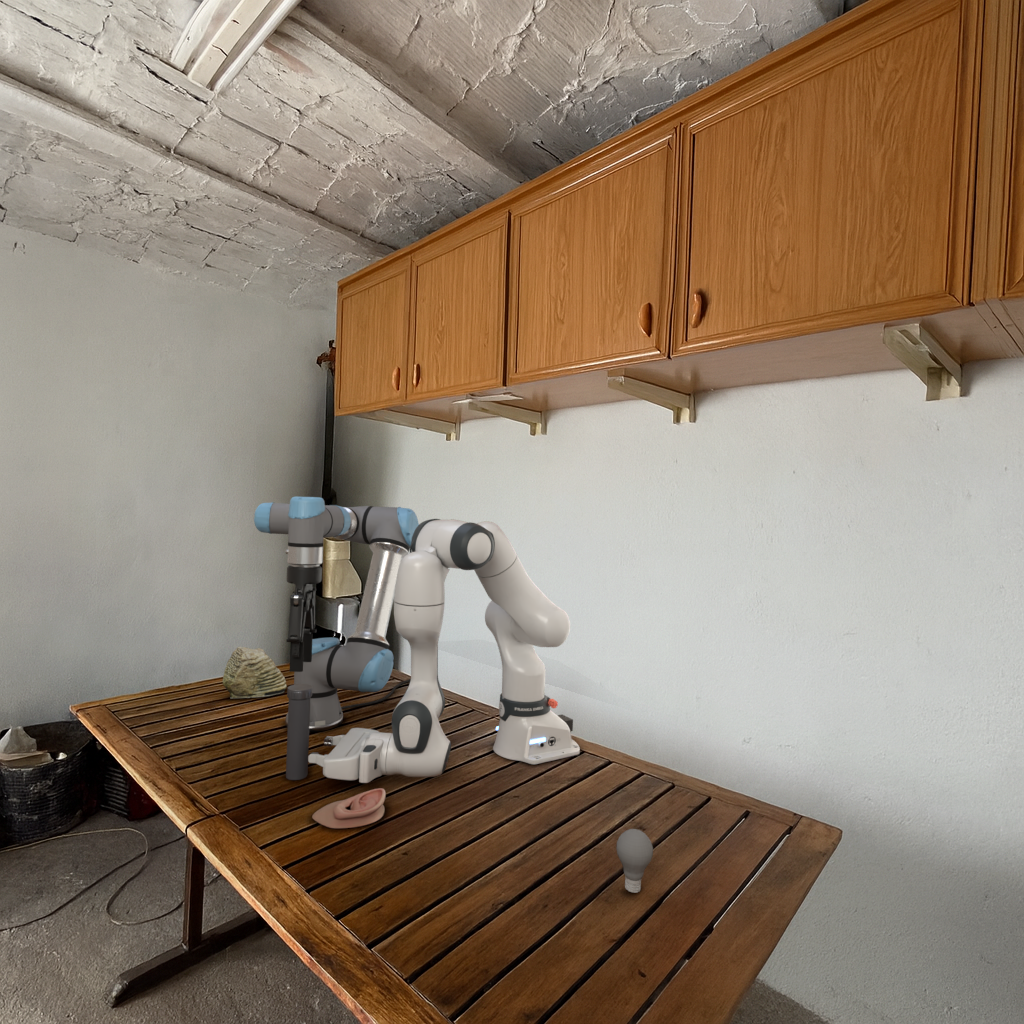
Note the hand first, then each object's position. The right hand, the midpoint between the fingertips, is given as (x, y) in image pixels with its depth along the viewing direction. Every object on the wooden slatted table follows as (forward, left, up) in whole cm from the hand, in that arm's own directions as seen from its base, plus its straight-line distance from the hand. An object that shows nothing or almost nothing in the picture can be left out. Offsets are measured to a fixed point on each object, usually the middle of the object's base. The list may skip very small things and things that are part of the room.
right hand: (317, 748), depth 143 cm
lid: (+4, -2, +13) cm, 14 cm away
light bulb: (-46, +58, -7) cm, 75 cm away
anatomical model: (-5, +19, -7) cm, 21 cm away
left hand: (+4, -2, +18) cm, 19 cm away
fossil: (+14, -65, -7) cm, 67 cm away
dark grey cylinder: (+4, -2, -7) cm, 8 cm away
